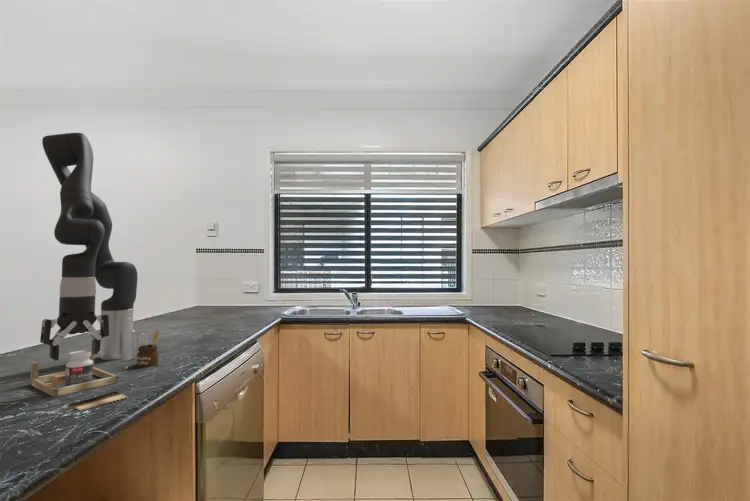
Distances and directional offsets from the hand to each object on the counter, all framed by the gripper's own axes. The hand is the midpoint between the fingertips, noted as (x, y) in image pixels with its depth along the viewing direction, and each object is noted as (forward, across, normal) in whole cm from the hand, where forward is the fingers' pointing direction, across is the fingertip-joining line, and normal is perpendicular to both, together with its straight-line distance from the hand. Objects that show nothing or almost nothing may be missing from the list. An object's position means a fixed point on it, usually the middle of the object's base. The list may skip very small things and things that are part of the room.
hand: (75, 356), depth 102 cm
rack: (+9, -1, -2) cm, 9 cm away
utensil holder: (+9, -21, -7) cm, 24 cm away
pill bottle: (+9, -1, 0) cm, 9 cm away
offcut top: (+7, -1, -6) cm, 10 cm away
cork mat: (+9, -1, +12) cm, 15 cm away
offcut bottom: (+9, -1, -6) cm, 11 cm away
